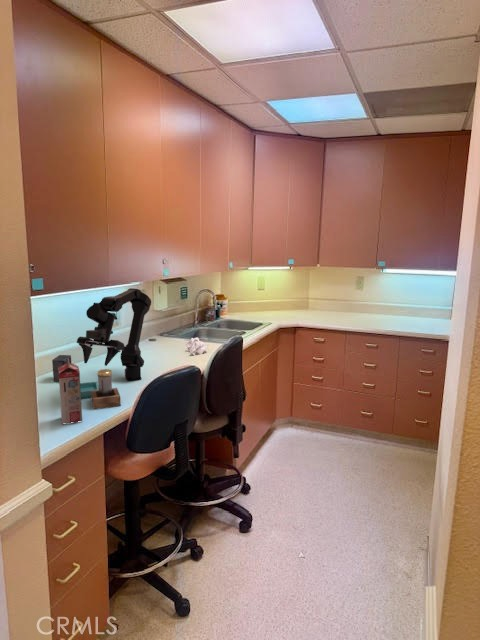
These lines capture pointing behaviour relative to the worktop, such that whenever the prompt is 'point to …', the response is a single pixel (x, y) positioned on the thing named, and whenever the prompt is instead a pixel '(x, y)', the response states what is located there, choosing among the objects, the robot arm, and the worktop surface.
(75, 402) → the juice carton
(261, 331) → the worktop surface
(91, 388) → the teal tray
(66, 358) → the box
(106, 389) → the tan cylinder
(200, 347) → the white coral
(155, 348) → the worktop surface
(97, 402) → the brown square frame
